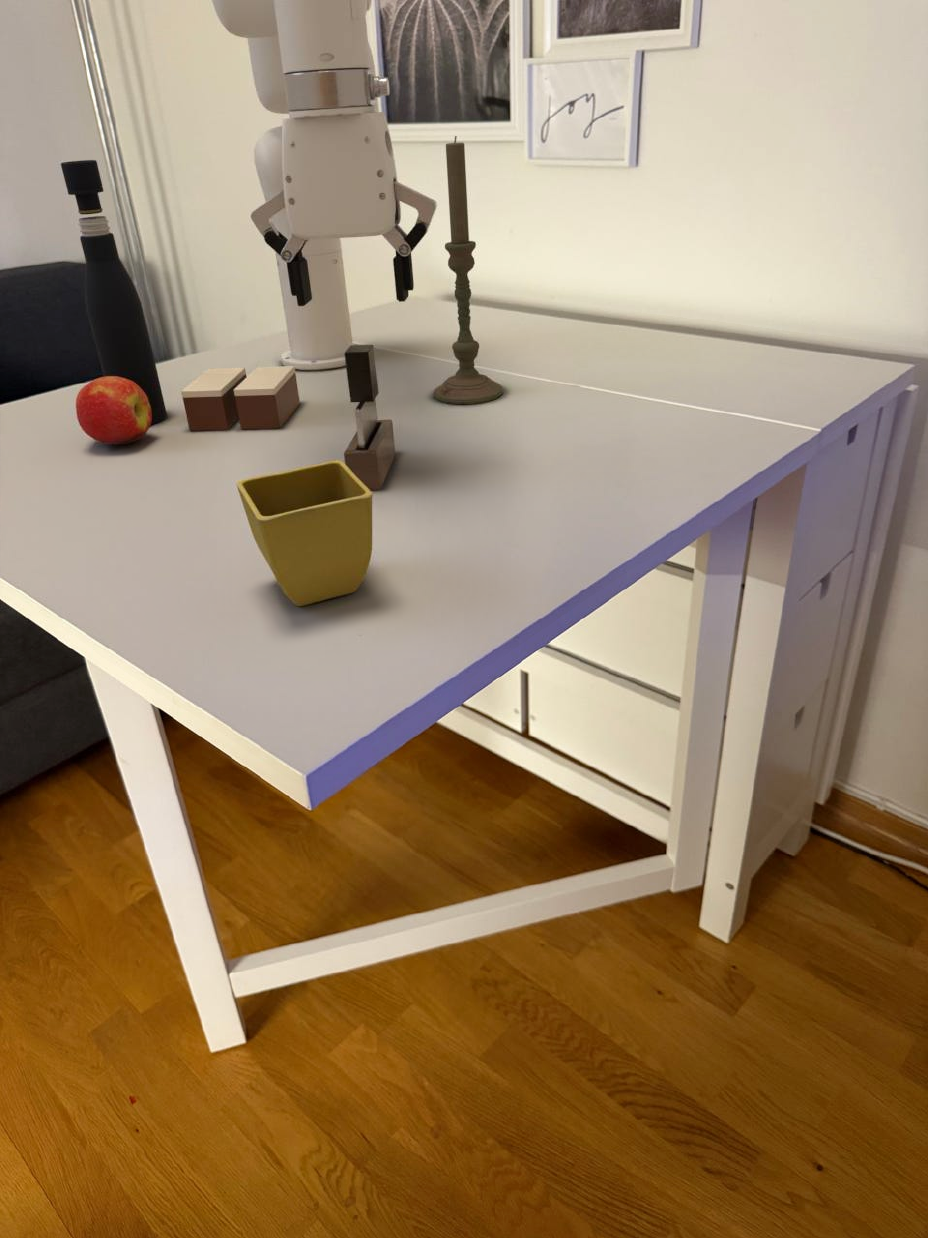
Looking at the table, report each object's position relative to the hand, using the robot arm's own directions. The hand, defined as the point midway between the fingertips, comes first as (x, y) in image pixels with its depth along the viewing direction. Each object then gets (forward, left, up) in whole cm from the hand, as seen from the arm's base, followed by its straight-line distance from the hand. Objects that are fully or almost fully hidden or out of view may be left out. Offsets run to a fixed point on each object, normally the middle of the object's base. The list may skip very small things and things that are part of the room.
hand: (353, 301), depth 87 cm
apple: (-11, -33, -18) cm, 39 cm away
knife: (0, 0, -18) cm, 18 cm away
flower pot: (+26, 0, -18) cm, 31 cm away
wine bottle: (-20, -34, -18) cm, 43 cm away
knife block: (0, 0, -18) cm, 18 cm away
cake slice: (-20, -17, -18) cm, 32 cm away
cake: (-20, -23, -18) cm, 36 cm away
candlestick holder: (-27, +8, -18) cm, 33 cm away
